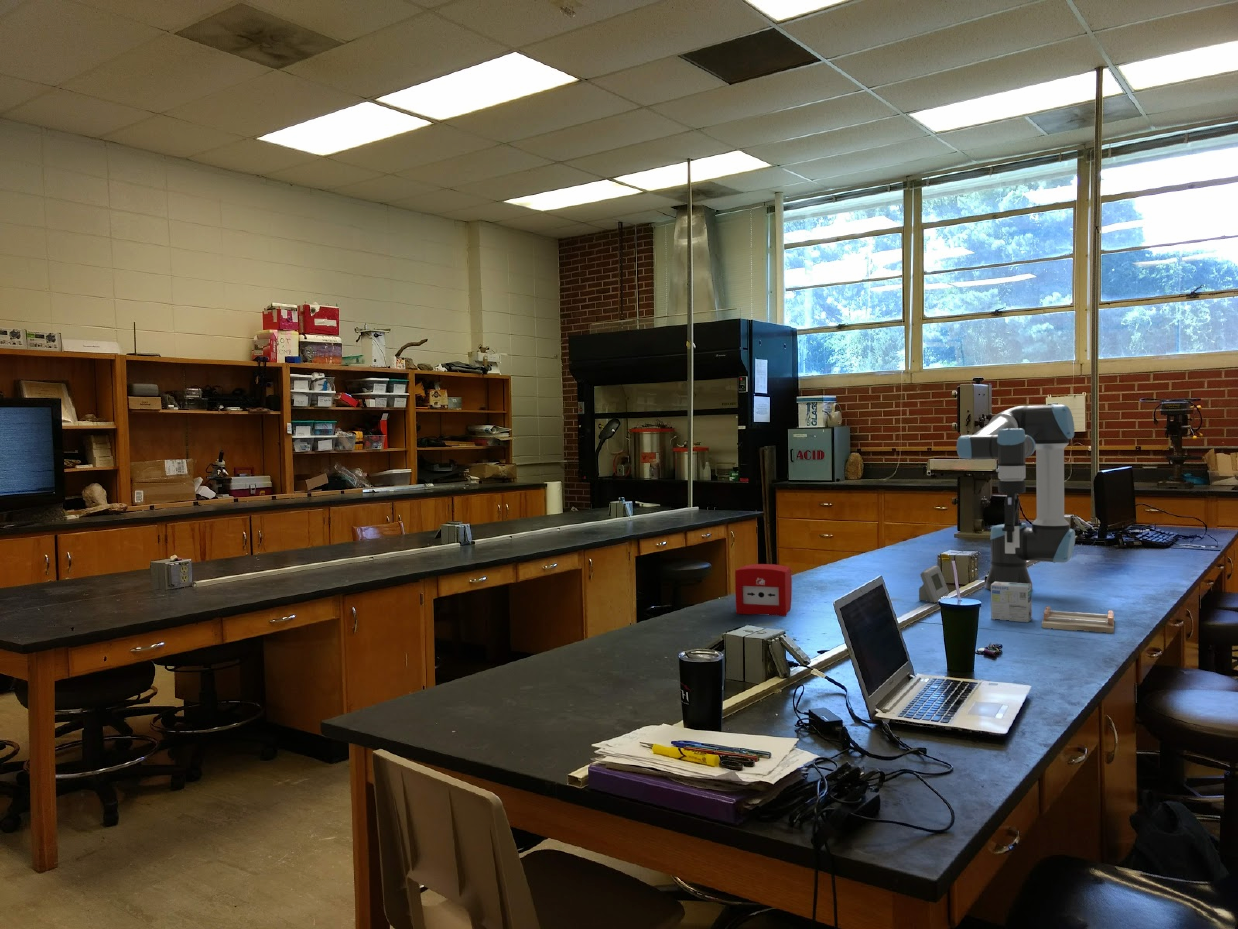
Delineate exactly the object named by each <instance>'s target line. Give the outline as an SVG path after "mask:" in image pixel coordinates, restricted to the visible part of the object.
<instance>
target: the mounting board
mask: <svg viewBox="0 0 1238 929" xmlns="http://www.w3.org/2000/svg"><path fill="white" fill-rule="evenodd" d="M1050 617H1056V618H1069V619H1083V620H1096V621H1108V618H1101V617H1087V616H1073V615H1059V614H1050ZM1041 628H1042V629H1051V628H1053V630H1066V631H1077V630H1084V631H1083V632H1089V631H1095V632H1094V633H1102V632H1106V633H1105V634H1114V633H1115V632H1114V631H1115V630H1114V629H1115V615H1114V614H1113V625H1103V624H1090V623H1076V622H1063V621H1050V620H1044V617H1043V619H1042V621H1041Z"/></svg>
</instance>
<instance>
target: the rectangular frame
mask: <svg viewBox="0 0 1238 929" xmlns="http://www.w3.org/2000/svg"><path fill="white" fill-rule="evenodd" d="M1050 614H1059V615H1073V616H1087V617H1101V618H1108V621H1096V620H1083V619H1069V618H1056V617H1050ZM1113 615H1114V610H1108V614H1107V613H1106V614H1104V613H1103V614H1102V613H1092V612H1091V613H1089V612H1076V611H1074V612H1073V611H1061V610H1060V611H1059V610H1052V607H1051V606H1048V605H1047V606H1045V609H1044V612H1043V618H1044V620H1050V621H1063V622H1076V623H1090V624H1103V625H1113Z"/></svg>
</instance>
